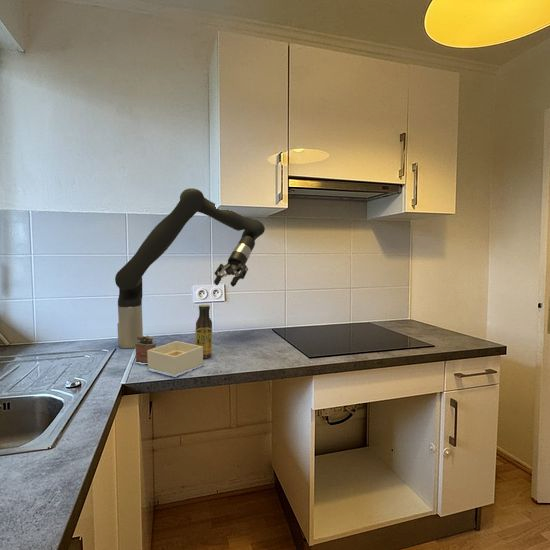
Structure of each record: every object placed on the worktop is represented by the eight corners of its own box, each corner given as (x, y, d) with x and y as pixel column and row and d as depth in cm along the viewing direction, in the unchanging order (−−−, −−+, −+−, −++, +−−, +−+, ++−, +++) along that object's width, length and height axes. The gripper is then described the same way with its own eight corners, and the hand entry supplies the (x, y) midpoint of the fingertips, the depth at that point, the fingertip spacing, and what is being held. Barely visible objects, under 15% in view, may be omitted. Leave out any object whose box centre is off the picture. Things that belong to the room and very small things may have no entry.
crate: (147, 370, 113) (147, 350, 112) (176, 359, 124) (176, 341, 124) (175, 378, 107) (174, 357, 106) (203, 365, 118) (202, 346, 117)
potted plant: (158, 362, 121) (157, 335, 120) (152, 365, 117) (152, 338, 117) (139, 360, 123) (138, 334, 122) (133, 363, 120) (132, 336, 119)
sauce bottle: (195, 360, 124) (194, 307, 122) (194, 354, 130) (193, 304, 128) (213, 358, 125) (212, 306, 124) (211, 353, 131) (211, 303, 130)
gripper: (223, 250, 148) (206, 278, 139) (249, 250, 141) (233, 279, 132) (230, 261, 153) (214, 289, 144) (256, 262, 146) (241, 291, 137)
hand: (223, 284), depth 138 cm, fingers open, 8 cm apart
